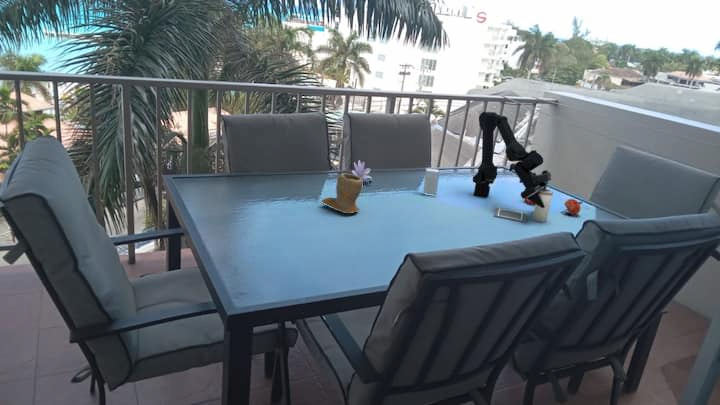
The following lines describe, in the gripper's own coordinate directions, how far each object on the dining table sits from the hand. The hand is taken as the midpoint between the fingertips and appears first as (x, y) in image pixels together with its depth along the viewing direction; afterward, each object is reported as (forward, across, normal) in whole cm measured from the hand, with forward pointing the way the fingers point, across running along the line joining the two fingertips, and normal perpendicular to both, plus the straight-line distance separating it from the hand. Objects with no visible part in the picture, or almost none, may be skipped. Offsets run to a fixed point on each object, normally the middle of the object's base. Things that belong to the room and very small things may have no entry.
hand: (545, 206), depth 202 cm
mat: (-4, -5, +13) cm, 15 cm away
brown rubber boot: (-40, -56, +50) cm, 85 cm away
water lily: (-52, -20, +62) cm, 84 cm away
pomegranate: (+9, +19, 0) cm, 21 cm away
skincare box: (-30, -9, +40) cm, 51 cm away
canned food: (-3, +21, +13) cm, 25 cm away
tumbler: (+4, 0, +6) cm, 7 cm away
